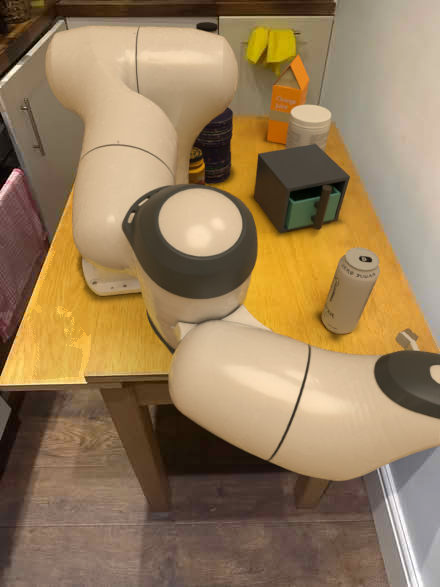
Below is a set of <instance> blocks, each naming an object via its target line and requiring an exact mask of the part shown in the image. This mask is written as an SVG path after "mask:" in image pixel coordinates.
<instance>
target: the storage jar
mask: <svg viewBox="0 0 440 587" xmlns="http://www.w3.org/2000/svg"><path fill="white" fill-rule="evenodd" d="M233 118H234V112H233V110H232V109H231V108H230V107H229V106H228V107H227V108H226V110H225V111H224V112H222V113H221V114H220V115H218V116H217V117H215V118H214V119H213V120H211V121H210V122H209V123H208V124H207V125H206V126H205V127H204V128H203V130H202V131H201V132H200V133H199V135H198V136H197V138H196V140H195V142H194V144H193V146H192V147H195V148H198V149H200V150H201V151H202V153H203V162H204V164H205V184H210V185H213V184H219V183H223V182H225V181H226V180H228V179H229V178H230V176H231V167H232V150H231V143H232V142H231V141H232V139H233V130H234V124H233V121H234V120H233Z"/></svg>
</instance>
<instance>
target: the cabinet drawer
mask: <svg viewBox="0 0 440 587" xmlns="http://www.w3.org/2000/svg"><path fill="white" fill-rule="evenodd" d="M340 195H341V193H340V192H339V191H338V190H337V189H336V188H335V187H334V186H333V185H332V184H331V183H330V184H325V185H320V186H315V187H310V188H305V189H300V190H295V191H290V196H289V202H288V208H287V213H286V219H285V226H286V227H287V229H292V228H297V227H301V226H306V225H310V224H313V226H312V228H313V229H314V230H315V231H319V230H321V229H322V228H323V225H324V224H323V222H324V221H328V220H333V219H334V216H335V213H336V209H337V206H338V202H339V199H340Z"/></svg>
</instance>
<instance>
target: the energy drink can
mask: <svg viewBox="0 0 440 587" xmlns="http://www.w3.org/2000/svg"><path fill="white" fill-rule="evenodd" d="M380 272H381V268H380V259H379V256H378V255H377V253H375V252H374V251H372V250H370V249H368V248H365V247H359V246H357V247H352V248H350V249H348V250H347V251H346V252H345V254H344V255H342V256H341V257H340V258H339V260H338V263H337V265H336V269H335V272H334V275H333V279H332V282H331V285H330V287H329V291H328V294H327V297H326V299H325V303H324V306H323V310H322V311H321V312H322V313H321V320H322V323H323V325H324V327H325V328H326V329H327V330H328V331H329V332H331V333H333V334H336V335H346V334H349V333H351V332H353V331H355V330H356V328H357V327H358V325H359V321H360V319H361V317H362V315H363V313H364V311H365V308H366V306H367V304H368V301H369V299H370V297H371V294H372V292H373V290H374V288H375V285H376V283H377V281H378V279H379V276H380Z"/></svg>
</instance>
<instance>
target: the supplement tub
mask: <svg viewBox="0 0 440 587" xmlns="http://www.w3.org/2000/svg"><path fill="white" fill-rule="evenodd" d="M331 124H332V113H331V111H330V110H329V109H328V108H326V107H324V106H321V105H317V104H305V105H299V106H296V107H294V108H293V109H292V110H291V113H290V117H289V123H288V131H287V138H286V144H285V147H284V149H288V148H294V147H300V146H306V145H312V144H316V145H318V146H319V147H320V148H321V149H322V150H323V151H324V152H325V153H326V148H327V143H328V140H329V139H328V138H329V133H330V128H331Z"/></svg>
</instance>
